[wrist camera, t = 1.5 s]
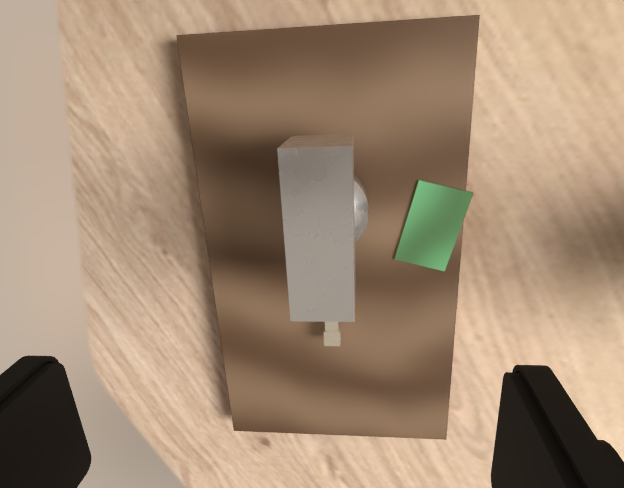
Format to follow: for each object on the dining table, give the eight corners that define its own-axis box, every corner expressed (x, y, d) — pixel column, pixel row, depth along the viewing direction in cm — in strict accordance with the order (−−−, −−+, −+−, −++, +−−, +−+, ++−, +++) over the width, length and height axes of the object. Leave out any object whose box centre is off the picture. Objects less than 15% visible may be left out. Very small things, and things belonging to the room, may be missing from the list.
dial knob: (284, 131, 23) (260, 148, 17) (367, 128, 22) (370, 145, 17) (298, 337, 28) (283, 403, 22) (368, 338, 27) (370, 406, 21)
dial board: (187, 37, 24) (175, 35, 22) (479, 18, 22) (488, 13, 20) (239, 415, 33) (233, 432, 31) (447, 423, 31) (452, 441, 29)
